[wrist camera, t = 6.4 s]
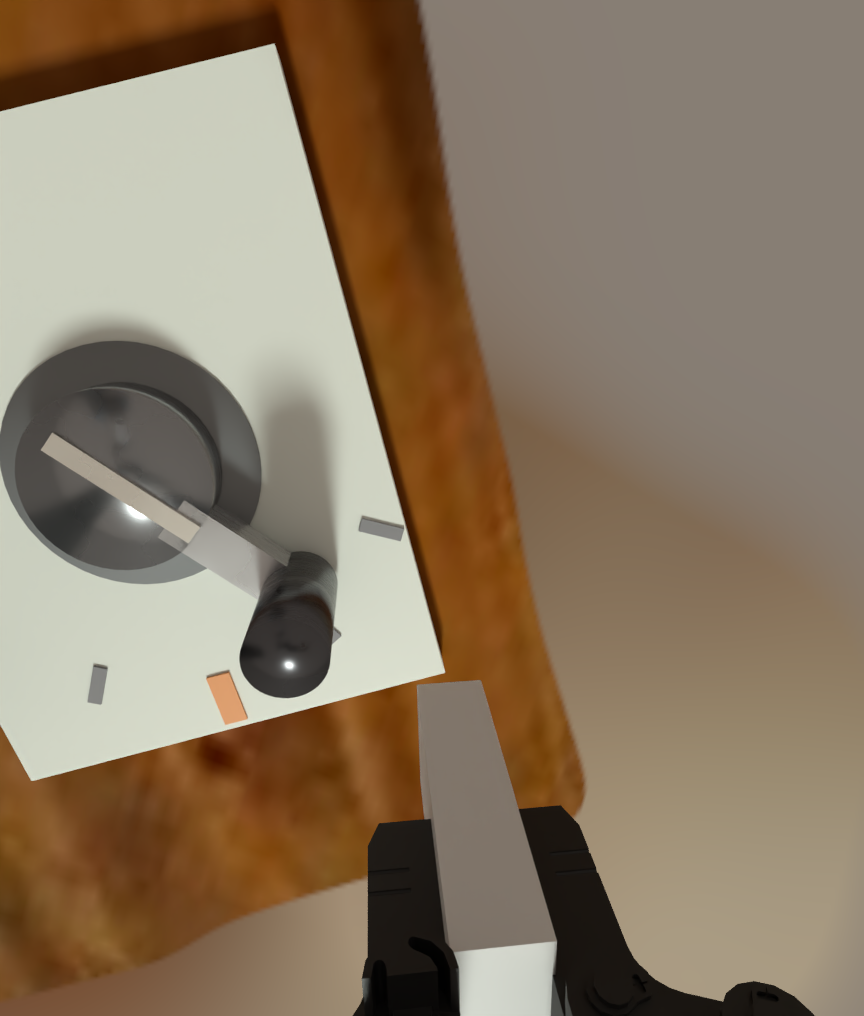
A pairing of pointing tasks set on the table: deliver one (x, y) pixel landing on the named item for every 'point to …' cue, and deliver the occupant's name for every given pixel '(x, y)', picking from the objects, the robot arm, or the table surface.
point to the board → (201, 387)
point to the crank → (172, 519)
